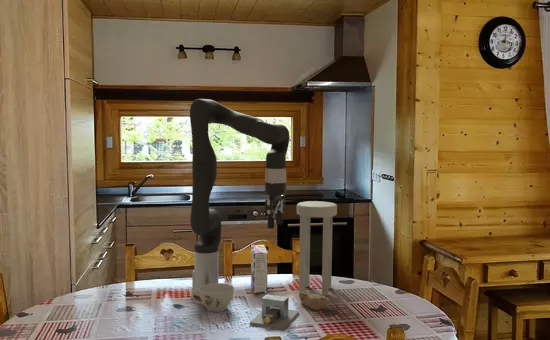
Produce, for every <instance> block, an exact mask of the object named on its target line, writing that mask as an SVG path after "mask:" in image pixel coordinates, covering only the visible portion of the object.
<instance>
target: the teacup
mask: <svg viewBox="0 0 550 340" xmlns="http://www.w3.org/2000/svg"><path fill="white" fill-rule="evenodd" d="M234 292H235V287H234V286H233V285H231V284H228V283H223V282H221V283H220V282H218V283H214V284H206V285H203V286H202V287H200V288H199V291H194V292H193V293H192V294H191V297H192V300H193V301H194V302H195V303H197V304H201V305H204V307H206V308H207V309H208V310H209V311H210V312H214V313H215V312H216V313H220V312H223V311H225V309H226V308H227V307H228V306H229V305H230V304H231V301H232V300H233V296H234ZM195 294H198V295H199V296H200V297H199V298H200V300H201V301H200V300H198V299H196V298H195Z"/></svg>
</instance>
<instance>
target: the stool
mask: <svg viewBox="0 0 550 340" xmlns="http://www.w3.org/2000/svg"><path fill="white" fill-rule="evenodd" d="M296 214H297V215H298V216H299V263H298V265H299V267H298V269H299V271H298V274H299V277H298V278H299V279H298V283H299V284H298V294H299V293H300V292H303V293H307V288H309V287H310V275H311V274H310V269H311V267H310V264H311V263H310V262H311V261H310V260H311V259H310V257H311V218H322V259H321V260H322V261H321V262H322V264H321V265H322V266H321V268H322V270H321V295H323V296H325V297H327V296H329V289H331V288H332V262H333V261H332V259H333V258H332V257H333V256H332V255H333V217H335V216H337V215H338V205H337V203H335V202H330V201H318V200H313V201H312V200H308V201H302V202H301V201H300V202H298V203H297V204H296Z"/></svg>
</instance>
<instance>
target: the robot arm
mask: <svg viewBox="0 0 550 340" xmlns="http://www.w3.org/2000/svg"><path fill="white" fill-rule="evenodd" d="M189 120H190V130H191V141H192V145H191V148H192V149H191V150H192V151H191V152H192V160H191V161H192V162H191V169H192V170H191V171H192V173H191V174H192V191H191V192H192V197H191V209H190V218H189V220H190V221H189V222H190V228H191V230H192V232H193V233H194V234H196V235H197V236H199V237H198V240H197V241H195V243H194V246H193V247H194V255H193V256H194V270H192V273H191V274H192V280H191V281H192V283H191V285H192V288H191V289H192V290H191V292H192V293H193V292H194V291H199V288H200V287H202V286H203V285H206V284H214V283H219V246H220V245H221V236H222V217H221V215H220V213H219V212H218V211H217V210H216V209H214V208H210V198H211V194H212V192H213V191H212V190H213V189H214V186H215V183H216V179H217V175H218V174H217V173H218V170H217V169H218V165H217V164H218V162H217V161H218V160H217V156H216V152H215V151H214V148H213V146H212V143H211V141H210V137H209V136H210V135H209V125H210V124H219V125H224V126H228V127H229V128H232V129H233V130H235V131H236V132H238V133H241V134H242V135H245V136H249V137H251V138H256V139H257V140H259V141H260V142H262V143H265V144H268V145H271V148H270V150H269V151H268V152H267V153H266V156H265V173H264V194H265V195H267V196H268V197H269V198H268V199H265V200H264V217H266V218H267V228H268V229H271V230H272V229H275V224H276V225H282V224H283V214H284V212H285V211H286V196H285V195H286V194H287V171H286V165H287V164H286V155H287V152H288V148H289V143H290V137H291V136H290V131H289V129H288V127H287V126H286V125H285V124H276V123H275V124H272V123H268V122H265V121H264V120H263V119H261V118H258V117H255V116H252V115H248V114H246V113H242V112H238V111H235V110H232V109H230V107H229V108H228V107H226V106H225V105H223V104H221V103H220V102H217V101H215V100H213V99H208V98H207V99H206V98H197V99H195V100H193V102H192V103H191V104H190V108H189ZM194 297H199V298H200V296H199V295H198V294H195V295H194Z"/></svg>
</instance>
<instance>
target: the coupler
mask: <svg viewBox="0 0 550 340" xmlns="http://www.w3.org/2000/svg"><path fill="white" fill-rule="evenodd" d="M299 315H300V310H296V309H295V310H294V309H288V316H287V318H286V319H285V320H280V308H277V307H271V309H270V310H269V311H268V312H267V313H266V314H265V315H264V317H262V311H260V312H259V313H258V314H257V315H256V316H255V317H254V318H253V319H251V320H250V321H249V325H250V326H253V327H254V326H255V327H259V328H260V327H261V328H267V329H275V330H279V331H280V330H281V331H285V329H287V328H288V327H289V325H290V324H291V323H292V322H293V321H294V320H295V319H296V318H297V317H298V316H299Z"/></svg>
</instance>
